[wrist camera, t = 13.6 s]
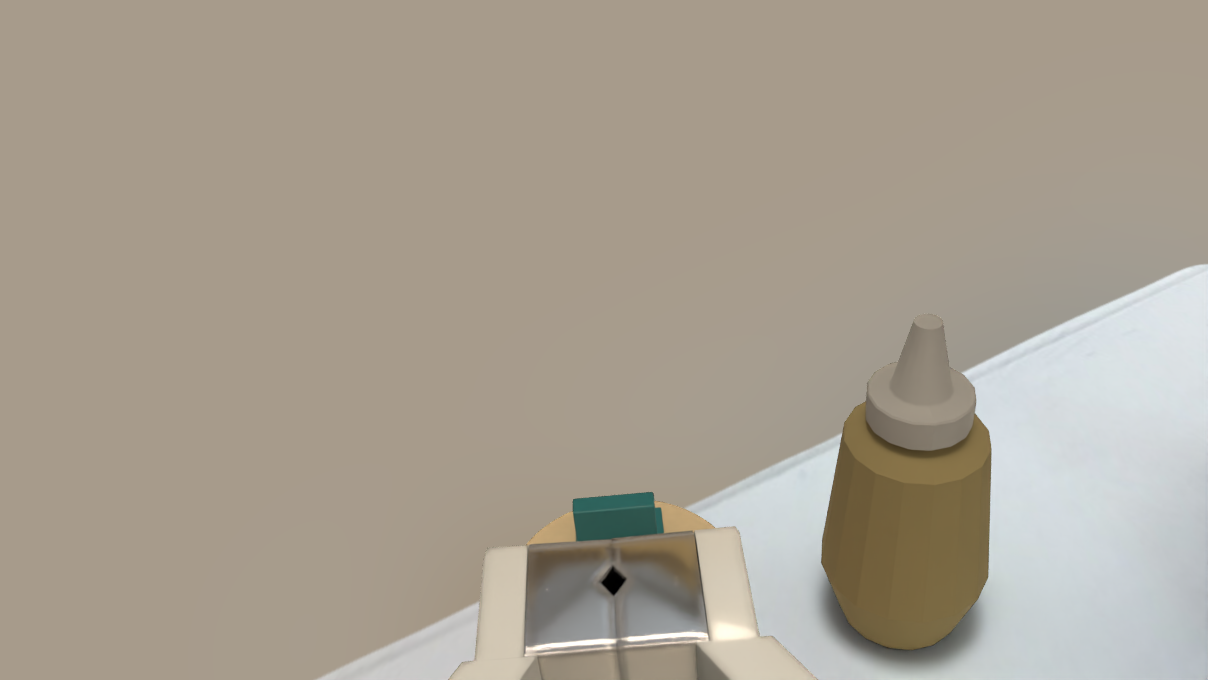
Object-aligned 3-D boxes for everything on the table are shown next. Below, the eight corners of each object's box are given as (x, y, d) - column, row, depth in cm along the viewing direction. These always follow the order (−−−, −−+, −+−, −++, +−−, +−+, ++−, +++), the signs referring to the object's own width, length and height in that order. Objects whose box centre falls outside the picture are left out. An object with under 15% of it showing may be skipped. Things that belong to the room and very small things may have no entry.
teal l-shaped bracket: (576, 521, 43) (564, 441, 40) (661, 513, 43) (655, 433, 40) (577, 595, 40) (564, 514, 37) (669, 587, 40) (663, 505, 37)
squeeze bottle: (836, 534, 58) (851, 260, 47) (987, 568, 55) (1039, 283, 44) (801, 646, 52) (810, 361, 41) (969, 691, 49) (1023, 396, 38)
